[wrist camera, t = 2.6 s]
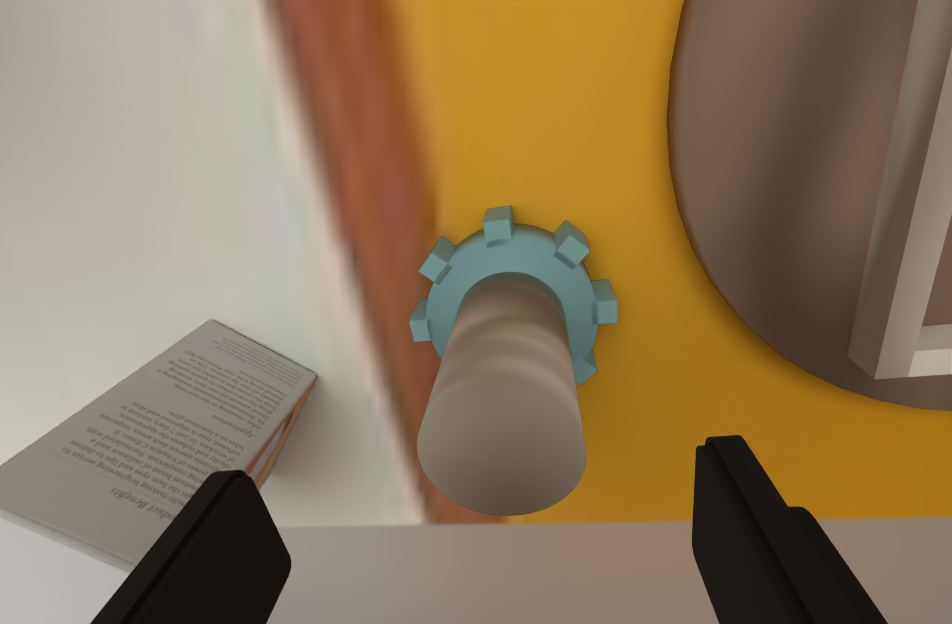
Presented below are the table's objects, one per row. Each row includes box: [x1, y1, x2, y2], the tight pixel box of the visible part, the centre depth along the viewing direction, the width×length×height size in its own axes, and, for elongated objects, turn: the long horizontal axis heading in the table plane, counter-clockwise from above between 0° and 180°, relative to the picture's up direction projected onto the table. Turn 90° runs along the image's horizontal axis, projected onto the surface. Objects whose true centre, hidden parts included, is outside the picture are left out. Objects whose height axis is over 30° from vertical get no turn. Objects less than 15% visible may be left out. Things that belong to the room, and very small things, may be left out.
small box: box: [0, 320, 317, 624], centre depth 18 cm, size 8×6×10 cm
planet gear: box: [409, 206, 618, 516], centre depth 15 cm, size 8×8×9 cm
